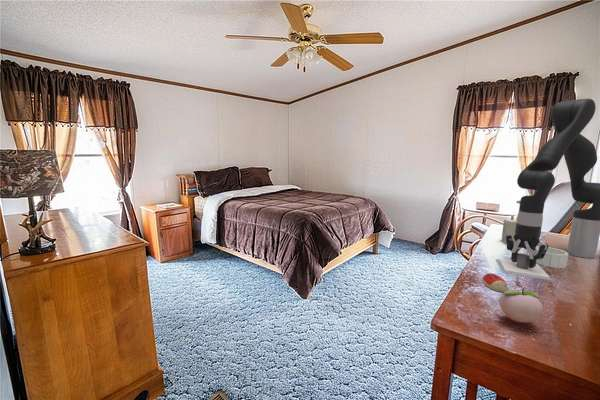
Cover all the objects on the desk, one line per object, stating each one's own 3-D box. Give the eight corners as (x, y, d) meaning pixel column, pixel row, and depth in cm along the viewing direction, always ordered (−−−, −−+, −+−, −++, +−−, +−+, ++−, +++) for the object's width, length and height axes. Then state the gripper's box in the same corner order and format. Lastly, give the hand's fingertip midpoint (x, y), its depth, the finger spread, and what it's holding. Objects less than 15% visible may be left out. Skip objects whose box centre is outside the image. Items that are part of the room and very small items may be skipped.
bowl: (530, 258, 119) (532, 245, 118) (559, 262, 115) (562, 248, 114) (537, 266, 111) (539, 252, 110) (570, 271, 106) (572, 256, 105)
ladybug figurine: (492, 292, 90) (493, 282, 89) (476, 279, 99) (477, 270, 99) (513, 293, 89) (515, 283, 88) (495, 280, 99) (496, 271, 98)
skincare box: (516, 246, 135) (520, 222, 133) (507, 245, 136) (510, 221, 134) (509, 242, 141) (513, 219, 139) (500, 241, 142) (503, 218, 140)
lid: (498, 260, 115) (500, 247, 114) (537, 266, 109) (539, 252, 108) (505, 272, 104) (507, 257, 103) (549, 279, 98) (551, 264, 97)
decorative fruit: (513, 333, 69) (519, 297, 67) (491, 314, 77) (495, 281, 75) (550, 333, 69) (556, 297, 67) (523, 314, 77) (528, 281, 76)
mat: (495, 260, 117) (495, 259, 116) (539, 267, 110) (539, 265, 110) (502, 274, 103) (502, 272, 103) (553, 282, 97) (553, 280, 97)
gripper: (557, 227, 98) (550, 271, 101) (515, 218, 111) (510, 257, 114) (544, 228, 95) (536, 273, 98) (502, 219, 109) (497, 259, 112)
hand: (522, 264), depth 106 cm, fingers open, 5 cm apart
